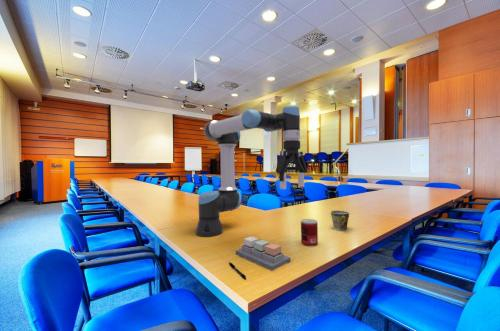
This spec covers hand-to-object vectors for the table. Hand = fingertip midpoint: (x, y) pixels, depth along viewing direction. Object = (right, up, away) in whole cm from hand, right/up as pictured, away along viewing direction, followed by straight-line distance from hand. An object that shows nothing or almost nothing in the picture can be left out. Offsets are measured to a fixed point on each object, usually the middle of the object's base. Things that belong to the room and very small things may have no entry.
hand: (292, 187), depth 98 cm
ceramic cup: (+34, -28, +28) cm, 52 cm away
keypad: (-14, -28, -8) cm, 33 cm away
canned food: (+10, -28, +7) cm, 30 cm away
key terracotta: (-10, -24, -13) cm, 29 cm away
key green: (-14, -24, -8) cm, 29 cm away
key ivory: (-19, -24, -3) cm, 31 cm away
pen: (-24, -29, -19) cm, 42 cm away
